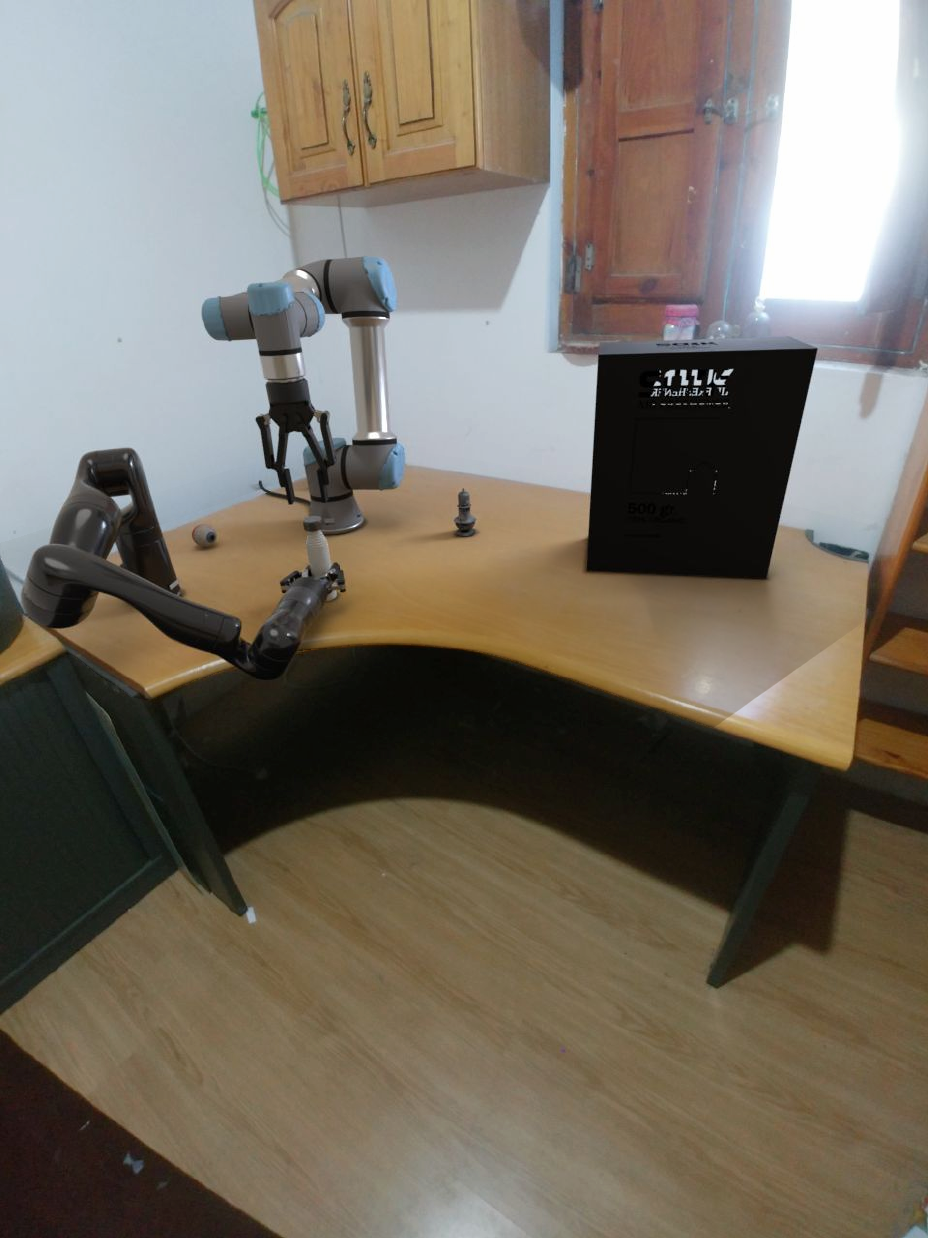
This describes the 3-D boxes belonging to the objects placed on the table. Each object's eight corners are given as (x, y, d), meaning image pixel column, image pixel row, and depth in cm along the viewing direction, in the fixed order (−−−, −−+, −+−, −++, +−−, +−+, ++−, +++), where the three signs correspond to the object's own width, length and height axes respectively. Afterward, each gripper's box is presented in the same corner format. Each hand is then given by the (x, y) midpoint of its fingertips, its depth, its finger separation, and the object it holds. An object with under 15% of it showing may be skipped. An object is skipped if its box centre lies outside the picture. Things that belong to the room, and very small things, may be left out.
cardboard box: (748, 541, 145) (788, 336, 123) (766, 578, 128) (817, 348, 106) (588, 536, 153) (599, 342, 130) (586, 571, 136) (598, 354, 113)
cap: (316, 523, 126) (314, 514, 125) (326, 527, 124) (325, 518, 123) (300, 529, 124) (298, 519, 123) (311, 533, 121) (309, 523, 120)
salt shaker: (474, 536, 157) (472, 491, 151) (452, 536, 158) (449, 491, 152) (478, 528, 161) (476, 484, 155) (457, 527, 163) (454, 484, 157)
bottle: (328, 590, 134) (315, 515, 126) (340, 595, 132) (327, 519, 123) (312, 597, 132) (297, 521, 123) (324, 603, 129) (309, 526, 120)
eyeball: (205, 552, 157) (199, 530, 154) (190, 548, 160) (184, 526, 157) (224, 544, 161) (219, 522, 158) (209, 540, 164) (203, 519, 161)
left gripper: (270, 621, 119) (297, 582, 134) (340, 620, 118) (360, 581, 132) (261, 587, 115) (290, 551, 130) (334, 586, 114) (355, 549, 129)
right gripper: (341, 373, 112) (358, 493, 124) (240, 378, 113) (267, 497, 124) (333, 379, 106) (352, 505, 117) (226, 385, 106) (256, 510, 118)
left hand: (325, 566), depth 131 cm, fingers closed on bottle, 4 cm apart
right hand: (308, 501), depth 121 cm, fingers open, 6 cm apart
